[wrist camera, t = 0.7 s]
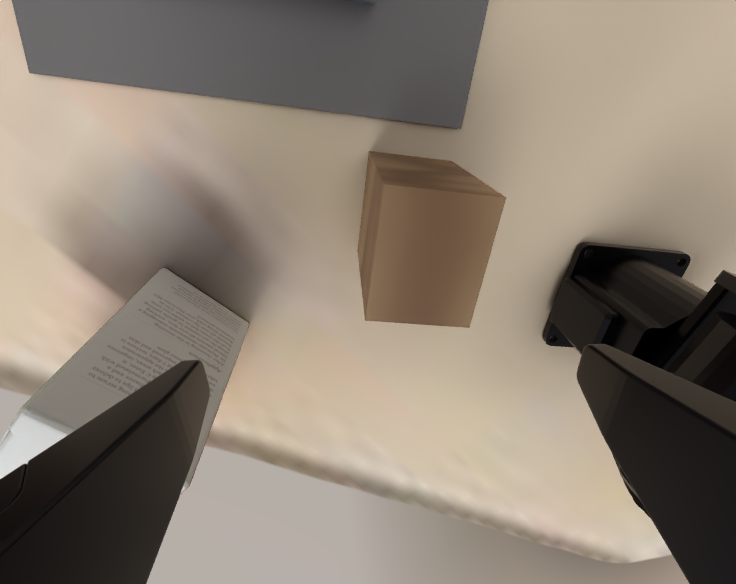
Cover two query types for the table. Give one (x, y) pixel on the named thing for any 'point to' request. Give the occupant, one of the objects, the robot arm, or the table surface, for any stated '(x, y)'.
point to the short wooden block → (424, 240)
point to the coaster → (269, 51)
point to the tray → (363, 1)
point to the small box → (131, 365)
